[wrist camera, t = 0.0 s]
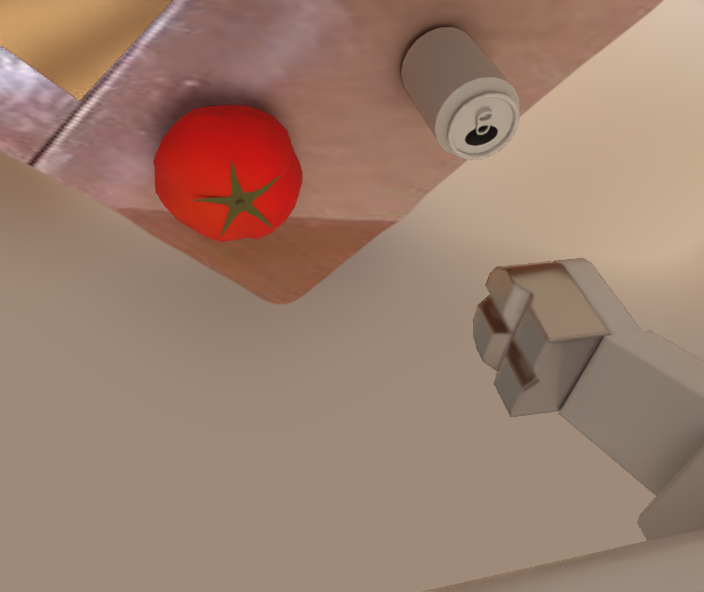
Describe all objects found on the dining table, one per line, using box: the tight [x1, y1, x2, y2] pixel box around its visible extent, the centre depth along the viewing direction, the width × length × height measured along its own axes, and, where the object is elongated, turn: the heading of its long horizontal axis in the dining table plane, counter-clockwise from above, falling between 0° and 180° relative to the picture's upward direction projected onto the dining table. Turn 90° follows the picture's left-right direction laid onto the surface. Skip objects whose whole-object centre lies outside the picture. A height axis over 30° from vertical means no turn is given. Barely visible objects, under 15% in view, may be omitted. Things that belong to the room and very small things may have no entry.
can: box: [401, 27, 519, 160], centre depth 57 cm, size 8×8×12 cm
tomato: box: [154, 105, 302, 242], centre depth 58 cm, size 13×12×11 cm
